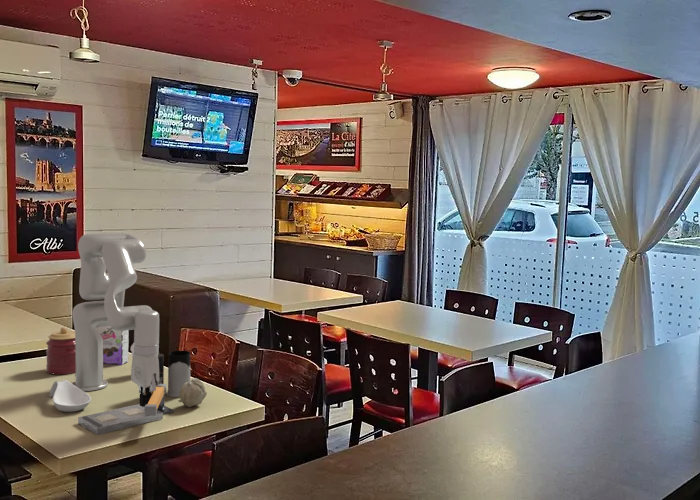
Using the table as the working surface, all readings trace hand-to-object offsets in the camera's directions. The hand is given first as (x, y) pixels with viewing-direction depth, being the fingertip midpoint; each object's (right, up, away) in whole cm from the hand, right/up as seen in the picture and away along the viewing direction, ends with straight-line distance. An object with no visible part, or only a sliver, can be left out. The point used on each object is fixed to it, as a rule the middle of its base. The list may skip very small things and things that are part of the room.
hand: (145, 405), depth 217 cm
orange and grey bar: (+4, +1, -2) cm, 4 cm away
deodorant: (-4, -3, +25) cm, 26 cm away
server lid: (-7, -5, -1) cm, 9 cm away
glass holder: (+3, -2, +32) cm, 33 cm away
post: (+2, -4, +9) cm, 10 cm away
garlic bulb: (+11, -4, +16) cm, 20 cm away
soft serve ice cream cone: (-17, 0, +52) cm, 55 cm away
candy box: (-36, +2, +70) cm, 79 cm away
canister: (-49, +1, +55) cm, 74 cm away
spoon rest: (-31, -3, +14) cm, 34 cm away
